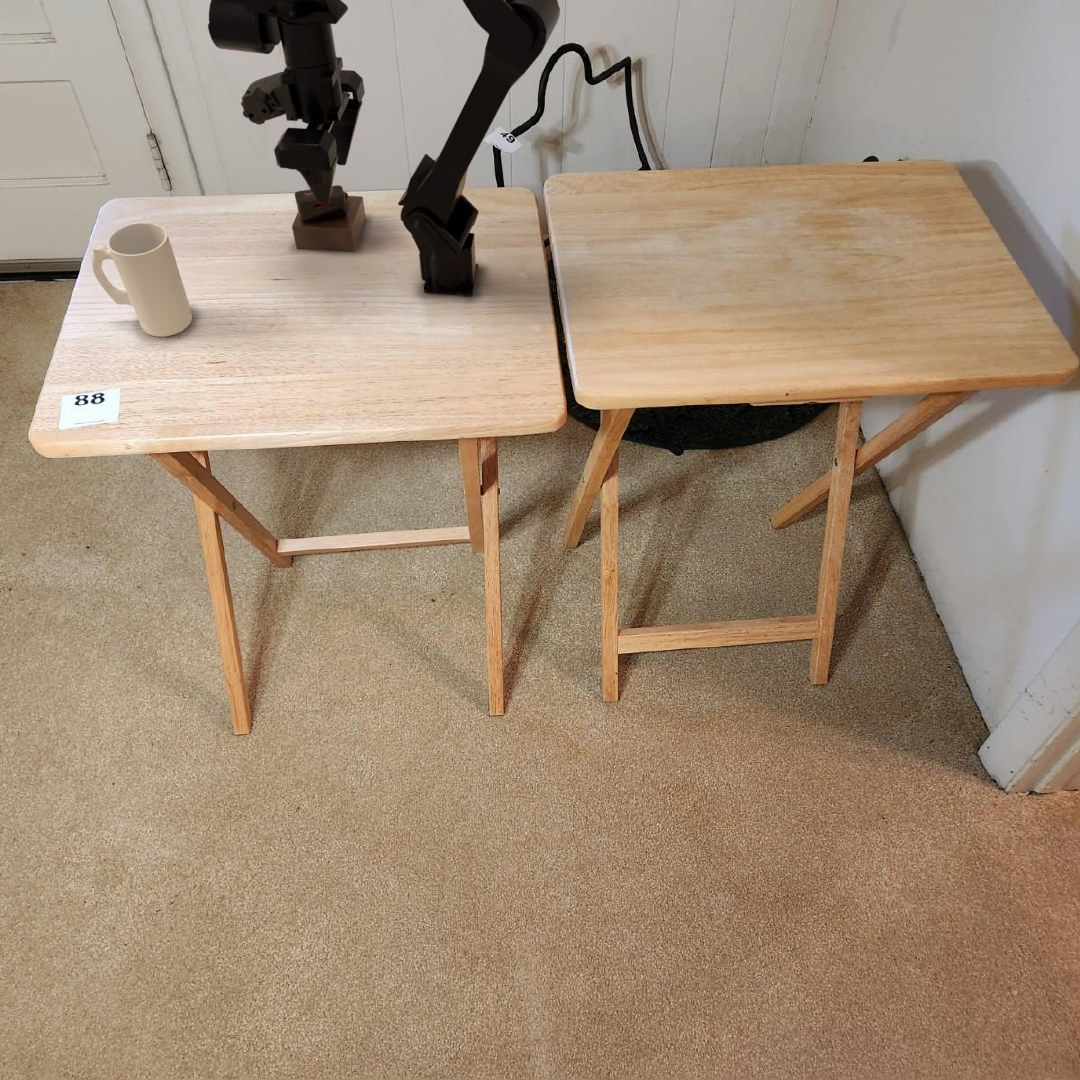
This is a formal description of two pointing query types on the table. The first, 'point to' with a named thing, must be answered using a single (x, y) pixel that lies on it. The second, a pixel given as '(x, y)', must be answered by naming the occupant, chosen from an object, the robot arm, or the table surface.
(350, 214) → the walnut block
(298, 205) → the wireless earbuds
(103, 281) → the mug
